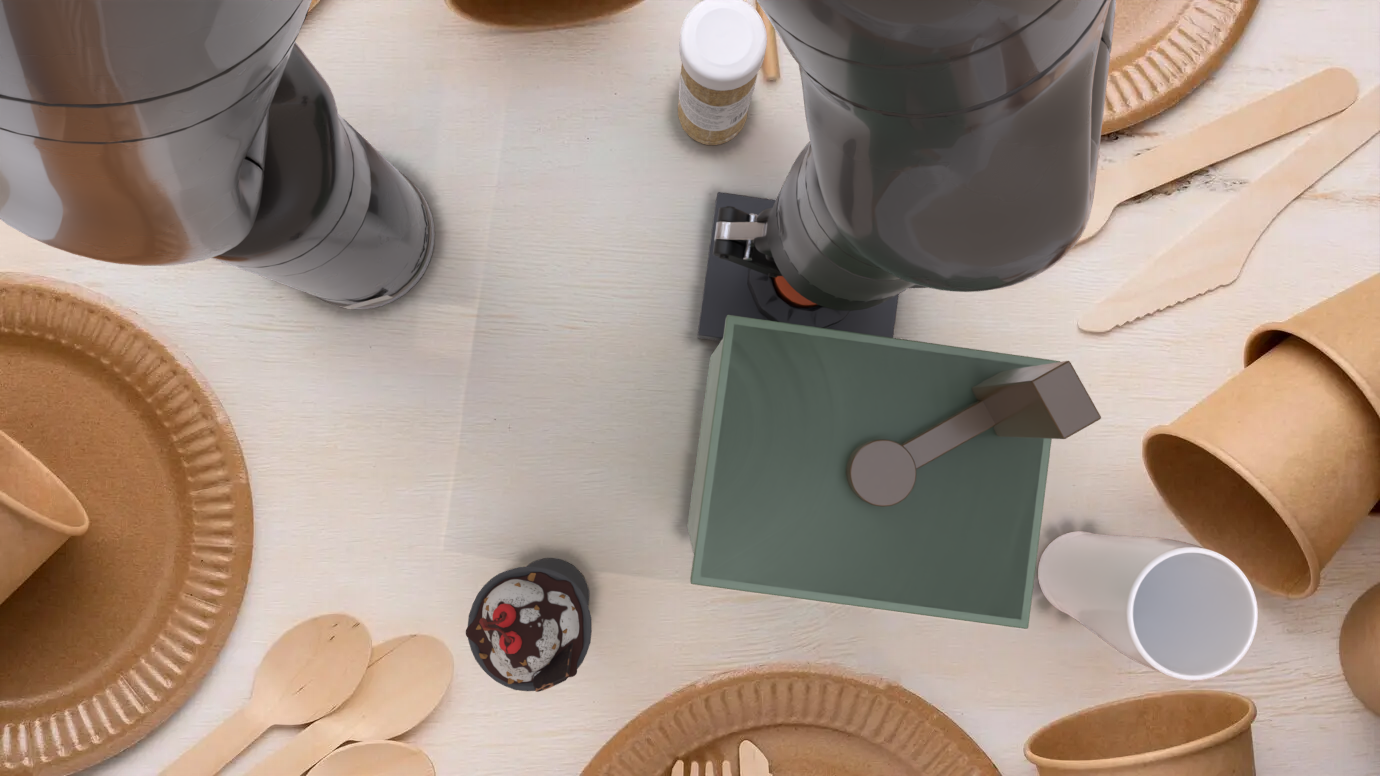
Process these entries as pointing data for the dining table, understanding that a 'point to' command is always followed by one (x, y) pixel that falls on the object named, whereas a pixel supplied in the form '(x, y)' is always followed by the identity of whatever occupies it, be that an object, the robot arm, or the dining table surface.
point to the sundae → (531, 625)
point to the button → (790, 294)
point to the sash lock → (977, 427)
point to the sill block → (815, 492)
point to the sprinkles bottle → (719, 68)
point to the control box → (772, 293)
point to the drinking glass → (1154, 600)
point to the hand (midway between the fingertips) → (810, 272)
